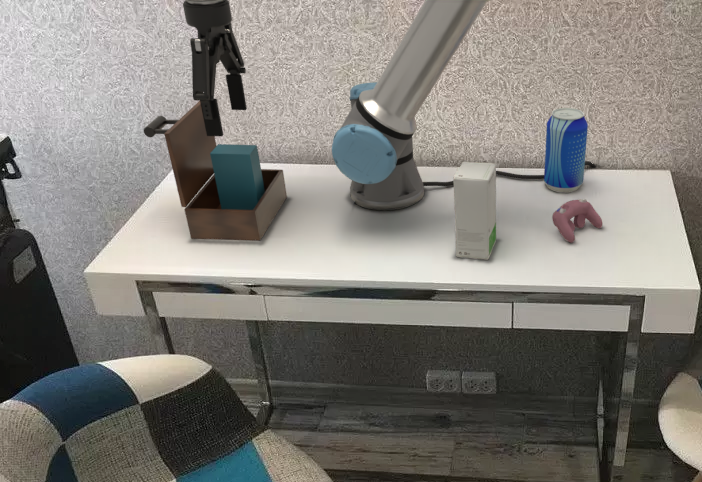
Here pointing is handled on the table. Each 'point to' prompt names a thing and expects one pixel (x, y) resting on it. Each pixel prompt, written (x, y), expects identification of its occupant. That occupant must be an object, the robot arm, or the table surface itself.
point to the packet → (237, 176)
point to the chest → (235, 211)
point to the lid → (187, 151)
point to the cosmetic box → (475, 209)
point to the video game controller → (575, 217)
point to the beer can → (565, 150)
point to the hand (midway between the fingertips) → (227, 122)
